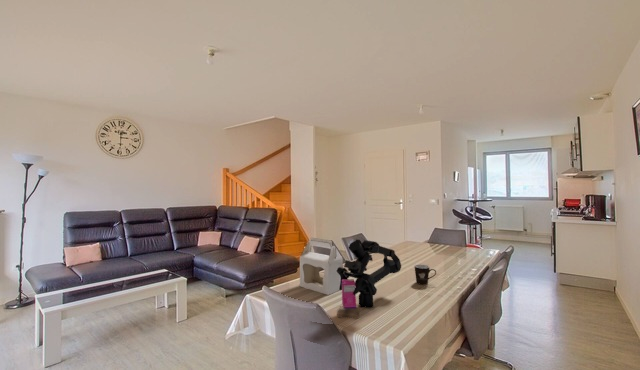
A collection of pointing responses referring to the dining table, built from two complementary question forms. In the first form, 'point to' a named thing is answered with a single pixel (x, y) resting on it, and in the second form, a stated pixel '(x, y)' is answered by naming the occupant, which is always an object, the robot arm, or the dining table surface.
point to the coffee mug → (422, 274)
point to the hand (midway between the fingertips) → (346, 292)
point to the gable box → (327, 262)
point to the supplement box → (348, 294)
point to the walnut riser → (348, 312)
